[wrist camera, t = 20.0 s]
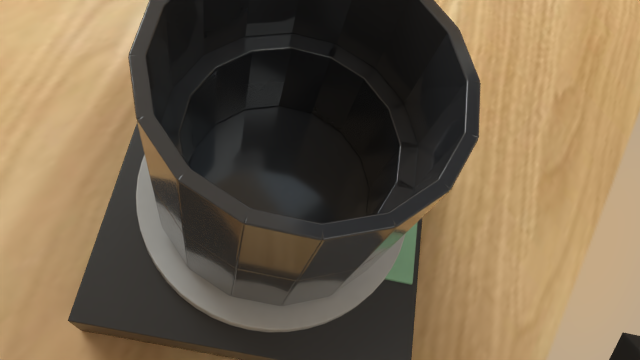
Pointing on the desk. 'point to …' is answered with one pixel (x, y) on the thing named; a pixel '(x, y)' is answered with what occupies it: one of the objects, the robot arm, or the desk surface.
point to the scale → (226, 311)
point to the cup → (299, 133)
